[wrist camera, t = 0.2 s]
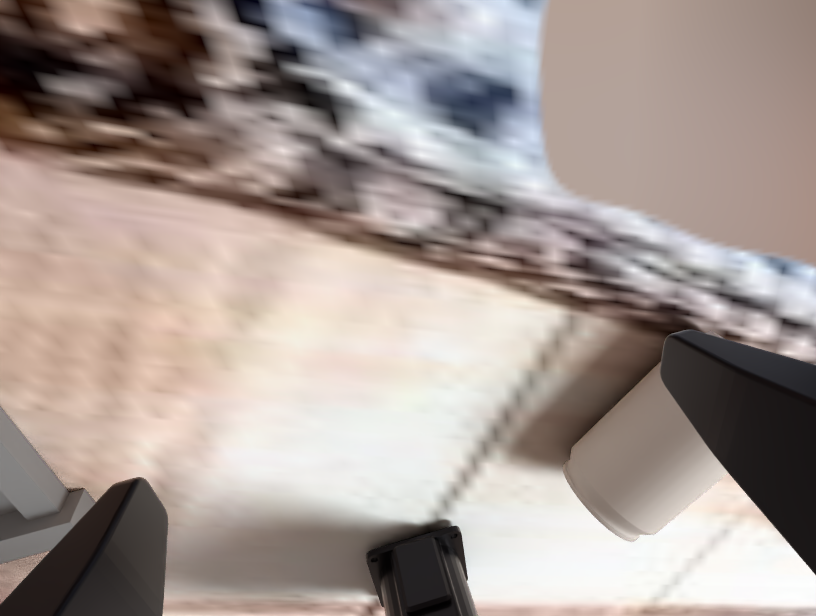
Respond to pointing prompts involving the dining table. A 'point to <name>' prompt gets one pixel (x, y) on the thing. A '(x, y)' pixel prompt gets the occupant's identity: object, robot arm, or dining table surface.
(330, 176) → the dining table surface
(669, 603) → the dining table surface
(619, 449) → the beverage can
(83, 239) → the dining table surface
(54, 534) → the tray
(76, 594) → the robot arm
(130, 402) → the dining table surface
